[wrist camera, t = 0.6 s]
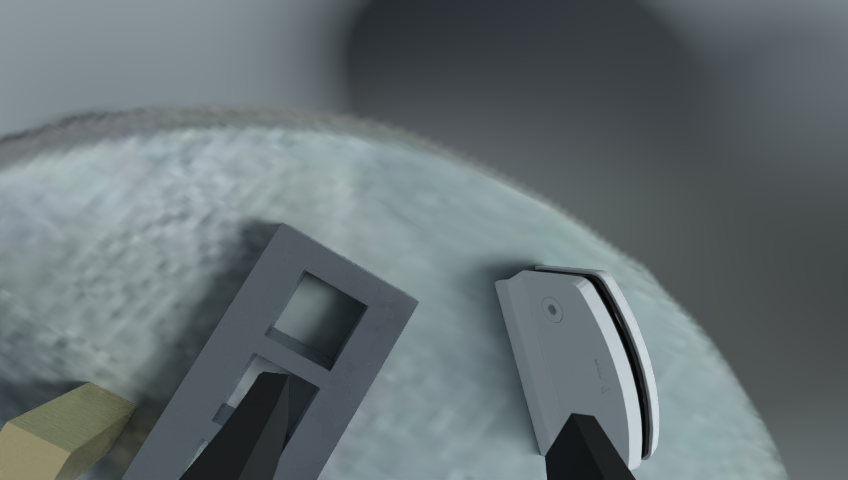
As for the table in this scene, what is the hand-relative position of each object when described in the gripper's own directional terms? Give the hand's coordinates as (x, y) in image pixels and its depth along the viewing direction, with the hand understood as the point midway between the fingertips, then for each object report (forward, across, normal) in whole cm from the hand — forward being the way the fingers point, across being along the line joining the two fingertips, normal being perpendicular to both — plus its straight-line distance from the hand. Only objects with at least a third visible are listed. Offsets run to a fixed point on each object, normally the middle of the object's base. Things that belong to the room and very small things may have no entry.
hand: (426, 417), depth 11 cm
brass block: (+13, +21, +24) cm, 35 cm away
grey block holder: (+16, +9, +22) cm, 28 cm away
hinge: (+20, -15, +18) cm, 31 cm away
